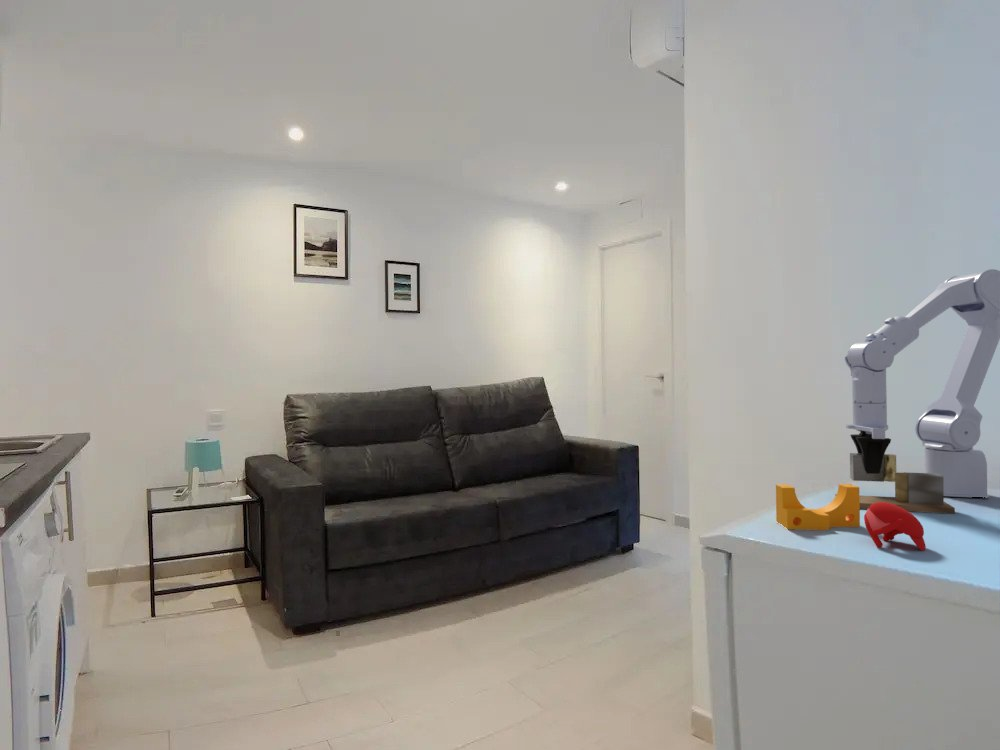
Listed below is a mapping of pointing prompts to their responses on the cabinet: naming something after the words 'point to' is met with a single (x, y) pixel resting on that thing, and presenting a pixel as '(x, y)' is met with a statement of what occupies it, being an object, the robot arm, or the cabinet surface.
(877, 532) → the red animal figurine
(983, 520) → the cabinet surface
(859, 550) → the cabinet surface
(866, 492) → the cabinet surface
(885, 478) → the grey post
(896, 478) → the hinge jig
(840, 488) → the pipe clamp
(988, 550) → the cabinet surface
